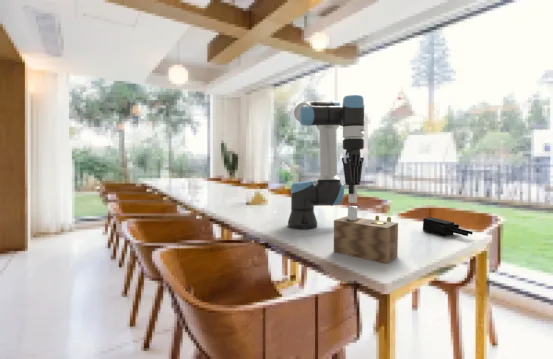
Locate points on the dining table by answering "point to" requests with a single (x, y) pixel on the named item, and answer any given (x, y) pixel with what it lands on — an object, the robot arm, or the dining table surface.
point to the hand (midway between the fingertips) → (352, 202)
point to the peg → (352, 213)
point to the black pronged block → (443, 227)
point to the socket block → (366, 239)
